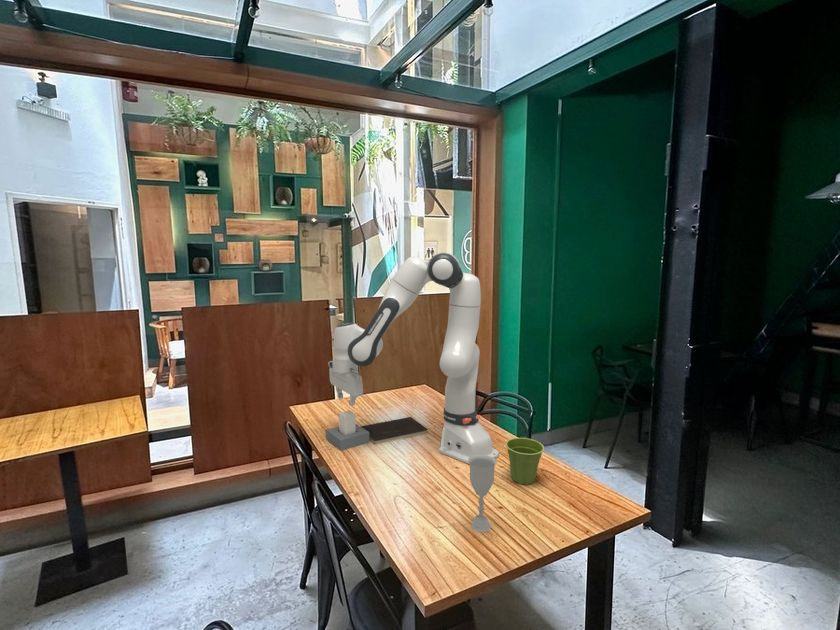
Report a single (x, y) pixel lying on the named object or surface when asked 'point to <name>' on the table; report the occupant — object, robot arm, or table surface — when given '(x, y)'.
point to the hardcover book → (394, 430)
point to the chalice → (481, 486)
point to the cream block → (347, 422)
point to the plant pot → (524, 459)
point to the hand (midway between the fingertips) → (346, 401)
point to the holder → (347, 438)
